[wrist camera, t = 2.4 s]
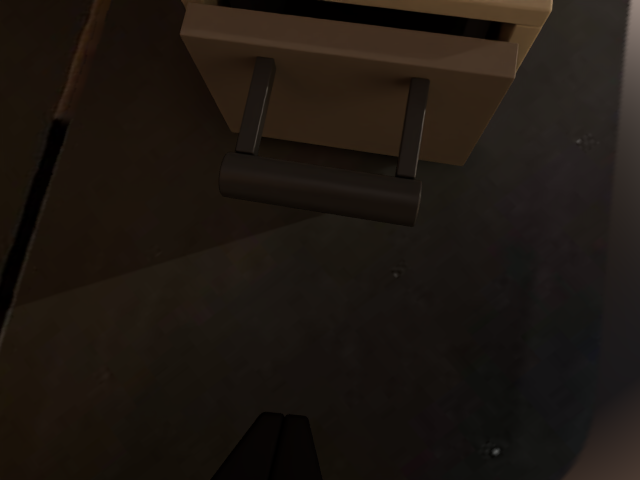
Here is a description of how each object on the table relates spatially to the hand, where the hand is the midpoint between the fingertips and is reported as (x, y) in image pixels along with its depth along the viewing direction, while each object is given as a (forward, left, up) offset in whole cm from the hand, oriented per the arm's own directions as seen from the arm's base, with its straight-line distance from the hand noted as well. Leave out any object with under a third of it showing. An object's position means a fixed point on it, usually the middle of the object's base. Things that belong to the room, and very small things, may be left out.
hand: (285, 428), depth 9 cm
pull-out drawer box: (+9, -11, -12) cm, 18 cm away
